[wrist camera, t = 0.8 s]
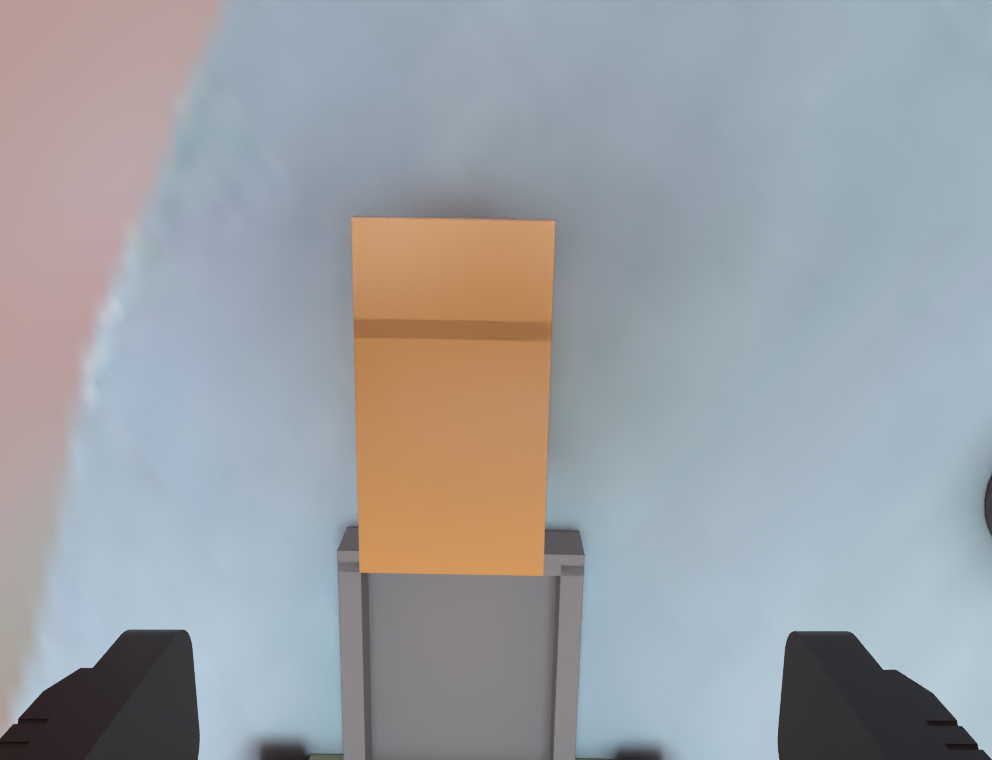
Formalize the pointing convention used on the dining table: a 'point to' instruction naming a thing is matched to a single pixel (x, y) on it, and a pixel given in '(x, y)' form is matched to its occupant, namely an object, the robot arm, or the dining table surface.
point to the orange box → (452, 392)
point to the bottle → (989, 506)
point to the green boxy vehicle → (460, 660)
